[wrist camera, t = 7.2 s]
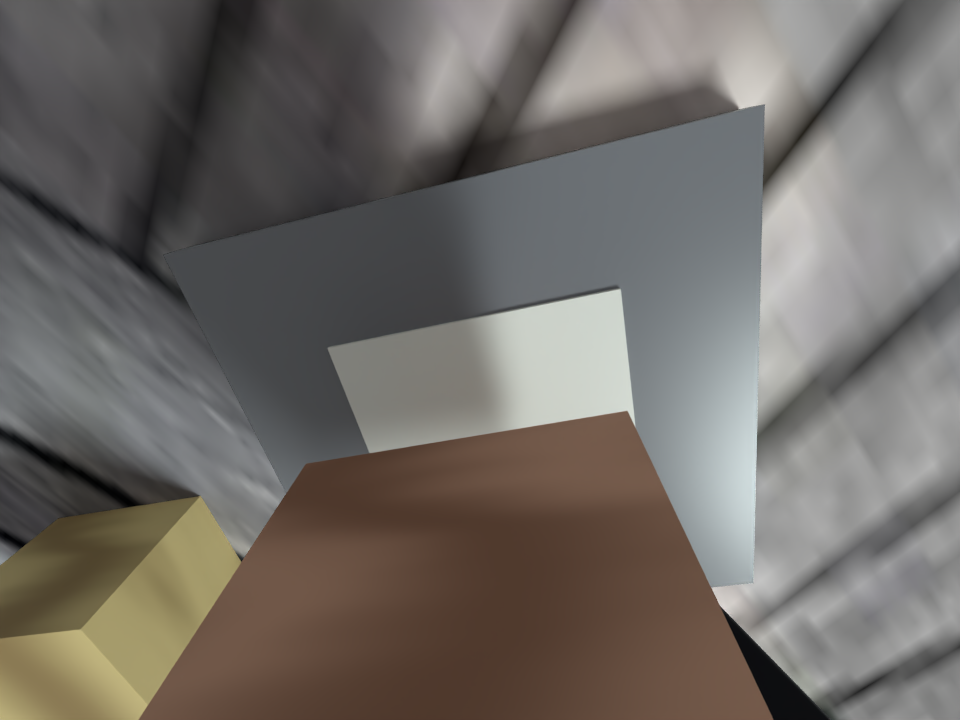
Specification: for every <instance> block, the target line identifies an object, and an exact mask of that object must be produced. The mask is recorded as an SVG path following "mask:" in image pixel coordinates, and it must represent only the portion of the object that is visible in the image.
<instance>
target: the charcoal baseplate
mask: <svg viewBox="0 0 960 720" xmlns="http://www.w3.org/2000/svg"><path fill="white" fill-rule="evenodd" d="M764 110H765V104H764V105H758V106H753V107H748V108H743V109H739V110H735V111H731V112H727V113H723V114H719V115H715V116H711V117H707V118H703V119H699V120H695V121H691V122H687V123H683V124H679V125H675V126H671V127H667V128H663V129H659V130H655V131H651V132H647V133H643V134H639V135H635V136H631V137H627V138H623V139H619V140H615V141H611V142H607V143H603V144H599V145H595V146H591V147H587V148H583V149H579V150H575V151H571V152H567V153H563V154H559V155H555V156H551V157H547V158H543V159H539V160H535V161H531V162H527V163H523V164H519V165H515V166H511V167H507V168H503V169H499V170H495V171H491V172H487V173H483V174H479V175H475V176H471V177H467V178H463V179H459V180H455V181H451V182H447V183H443V184H439V185H435V186H431V187H427V188H423V189H419V190H415V191H411V192H407V193H403V194H399V195H395V196H391V197H387V198H383V199H379V200H375V201H371V202H367V203H363V204H359V205H355V206H351V207H347V208H343V209H339V210H335V211H331V212H327V213H323V214H319V215H315V216H311V217H307V218H303V219H299V220H295V221H291V222H287V223H283V224H279V225H275V226H271V227H267V228H263V229H259V230H255V231H251V232H247V233H243V234H239V235H235V236H231V237H227V238H223V239H219V240H215V241H211V242H207V243H203V244H199V245H195V246H191V247H188V248H184V249H181V250H177V251H174V252H171V253H167V254H164V255H163V256H164V258H165V260H166V262H167V264H168V266H169V268H170V269H171V271H172V273H173V275H174V277H175V279H176V281H177V283H178V285H179V287H180V289H181V291H182V293H183V295H184V297H185V298H186V300H187V302H188V304H189V306H190V308H191V310H192V312H193V314H194V316H195V318H196V320H197V322H198V324H199V326H200V328H201V329H202V331H203V333H204V335H205V337H206V339H207V341H208V343H209V345H210V347H211V349H212V351H213V353H214V355H215V357H216V358H217V360H218V362H219V364H220V366H221V368H222V370H223V372H224V374H225V376H226V378H227V380H228V382H229V384H230V386H231V387H232V389H233V391H234V393H235V395H236V397H237V399H238V401H239V403H240V405H241V407H242V409H243V411H244V413H245V415H246V416H247V418H248V420H249V422H250V424H251V426H252V428H253V430H254V432H255V434H256V436H257V438H258V440H259V442H260V444H261V445H262V447H263V449H264V451H265V453H266V455H267V457H268V459H269V461H270V463H271V465H272V467H273V469H274V471H275V473H276V474H277V476H278V478H279V480H280V482H281V484H282V486H283V488H284V490H285V492H286V493H287V492H288V490H289V489H290V487H291V486H292V484H293V483H294V481H295V480H296V478H297V476H298V475H299V473H300V472H301V470H302V469H303V467H304V466H305V464H307V463H313V462H319V461H325V460H332V459H338V458H344V457H350V456H356V455H362V454H368V453H374V452H380V451H386V450H392V449H398V448H404V447H410V446H416V445H422V444H429V443H435V442H441V441H447V440H453V439H459V438H465V437H471V436H477V435H483V434H489V433H495V432H501V431H507V430H513V429H520V428H526V427H532V426H538V425H544V424H550V423H556V422H562V421H568V420H574V419H580V418H586V417H592V416H598V415H604V414H611V413H617V412H623V411H628V413H629V415H630V417H631V419H632V421H633V423H634V425H635V428H636V430H637V432H638V434H639V436H640V438H641V440H642V442H643V445H644V447H645V449H646V451H647V453H648V455H649V457H650V459H651V461H652V464H653V466H654V468H655V470H656V472H657V474H658V476H659V478H660V480H661V483H662V485H663V487H664V489H665V491H666V493H667V495H668V497H669V500H670V502H671V504H672V506H673V508H674V510H675V512H676V514H677V516H678V519H679V521H680V523H681V525H682V527H683V529H684V531H685V533H686V536H687V538H688V540H689V542H690V544H691V546H692V548H693V550H694V552H695V555H696V557H697V559H698V561H699V563H700V565H701V567H702V569H703V572H704V574H705V576H706V578H707V580H708V582H709V584H710V586H711V587H719V586H729V585H739V584H748V583H753V578H754V535H755V493H756V450H757V408H758V365H759V323H760V280H761V238H762V195H763V153H764Z"/></svg>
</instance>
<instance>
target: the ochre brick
mask: <svg viewBox="0 0 960 720" xmlns="http://www.w3.org/2000/svg"><path fill="white" fill-rule="evenodd" d="M240 564H241V561H240V559H239V558H238V556H237V555H236V553H235V551H234V550H233V548H232V546H231V545H230V543H229V542H228V540H227V538H226V537H225V535H224V533H223V532H222V530H221V529H220V527H219V525H218V524H217V522H216V520H215V519H214V517H213V516H212V514H211V512H210V511H209V509H208V507H207V506H206V504H205V503H204V501H203V499H202V498H201V496H198V497H192V498H185V499H179V500H172V501H166V502H160V503H153V504H147V505H141V506H134V507H128V508H121V509H115V510H109V511H102V512H96V513H90V514H83V515H77V516H70V517H64V518H58V519H57V520H56V521H55V522H53V523H52V524H51V525H50V526H48V527H47V528H46V529H45V530H43V531H42V532H41V533H40V534H38V535H37V536H36V537H35V538H34V539H32V540H31V541H30V542H29V543H27V544H26V545H25V546H24V547H22V548H21V549H20V550H19V551H18V552H16V553H15V554H14V555H13V556H11V557H10V558H9V559H8V560H6V561H5V562H4V563H3V564H1V565H0V720H139V718H140V717H141V715H142V714H143V712H144V710H145V709H146V707H147V706H148V704H149V703H150V701H151V700H152V698H153V697H154V695H155V694H156V692H157V691H158V689H159V688H160V686H161V684H162V683H163V681H164V680H165V678H166V677H167V675H168V674H169V672H170V671H171V669H172V668H173V666H174V665H175V663H176V662H177V660H178V658H179V657H180V655H181V654H182V652H183V651H184V649H185V648H186V646H187V645H188V643H189V642H190V640H191V639H192V637H193V636H194V634H195V632H196V631H197V629H198V628H199V626H200V625H201V623H202V622H203V620H204V619H205V617H206V616H207V614H208V613H209V611H210V610H211V608H212V606H213V605H214V603H215V602H216V600H217V599H218V597H219V596H220V594H221V593H222V591H223V590H224V588H225V587H226V585H227V584H228V582H229V580H230V579H231V577H232V576H233V574H234V573H235V571H236V570H237V568H238V567H239V565H240Z"/></svg>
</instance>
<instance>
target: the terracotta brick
mask: <svg viewBox="0 0 960 720" xmlns="http://www.w3.org/2000/svg"><path fill="white" fill-rule="evenodd" d="M139 720H773V718H772V715H771V713H770V711H769V709H768V707H767V705H766V703H765V701H764V699H763V696H762V694H761V692H760V690H759V688H758V686H757V684H756V682H755V679H754V677H753V675H752V673H751V671H750V669H749V667H748V665H747V663H746V660H745V658H744V656H743V654H742V652H741V650H740V648H739V646H738V643H737V641H736V639H735V637H734V635H733V633H732V631H731V629H730V627H729V624H728V622H727V620H726V618H725V616H724V614H723V612H722V610H721V607H720V605H719V603H718V601H717V599H716V597H715V595H714V593H713V591H712V588H711V586H710V584H709V582H708V580H707V578H706V576H705V574H704V572H703V569H702V567H701V565H700V563H699V561H698V559H697V557H696V555H695V552H694V550H693V548H692V546H691V544H690V542H689V540H688V538H687V536H686V533H685V531H684V529H683V527H682V525H681V523H680V521H679V519H678V516H677V514H676V512H675V510H674V508H673V506H672V504H671V502H670V500H669V497H668V495H667V493H666V491H665V489H664V487H663V485H662V483H661V480H660V478H659V476H658V474H657V472H656V470H655V468H654V466H653V464H652V461H651V459H650V457H649V455H648V453H647V451H646V449H645V447H644V445H643V442H642V440H641V438H640V436H639V434H638V432H637V430H636V428H635V425H634V423H633V421H632V419H631V417H630V415H629V413H628V411H623V412H617V413H611V414H604V415H598V416H592V417H586V418H580V419H574V420H568V421H562V422H556V423H550V424H544V425H538V426H532V427H526V428H520V429H513V430H507V431H501V432H495V433H489V434H483V435H477V436H471V437H465V438H459V439H453V440H447V441H441V442H435V443H429V444H422V445H416V446H410V447H404V448H398V449H392V450H386V451H380V452H374V453H368V454H362V455H356V456H350V457H344V458H338V459H332V460H325V461H319V462H313V463H307V464H305V466H304V467H303V469H302V470H301V472H300V473H299V475H298V476H297V478H296V480H295V481H294V483H293V484H292V486H291V487H290V489H289V490H288V492H287V493H286V495H285V496H284V498H283V499H282V501H281V502H280V504H279V506H278V507H277V509H276V510H275V512H274V513H273V515H272V516H271V518H270V519H269V521H268V522H267V524H266V525H265V527H264V528H263V530H262V532H261V533H260V535H259V536H258V538H257V539H256V541H255V542H254V544H253V545H252V547H251V548H250V550H249V551H248V553H247V554H246V556H245V558H244V559H243V561H242V562H241V564H240V565H239V567H238V568H237V570H236V571H235V573H234V574H233V576H232V577H231V579H230V580H229V582H228V584H227V585H226V587H225V588H224V590H223V591H222V593H221V594H220V596H219V597H218V599H217V600H216V602H215V603H214V605H213V606H212V608H211V610H210V611H209V613H208V614H207V616H206V617H205V619H204V620H203V622H202V623H201V625H200V626H199V628H198V629H197V631H196V632H195V634H194V636H193V637H192V639H191V640H190V642H189V643H188V645H187V646H186V648H185V649H184V651H183V652H182V654H181V655H180V657H179V658H178V660H177V662H176V663H175V665H174V666H173V668H172V669H171V671H170V672H169V674H168V675H167V677H166V678H165V680H164V681H163V683H162V684H161V686H160V688H159V689H158V691H157V692H156V694H155V695H154V697H153V698H152V700H151V701H150V703H149V704H148V706H147V707H146V709H145V710H144V712H143V714H142V715H141V717H140V718H139Z"/></svg>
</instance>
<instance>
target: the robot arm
mask: <svg viewBox="0 0 960 720" xmlns="http://www.w3.org/2000/svg"><path fill="white" fill-rule="evenodd" d="M720 607H721V606H720ZM721 610H722V612H723V614H724V616H725V618H726V620H727V622H728V624H729V627H730V629H731V631H732V633H733V635H734V637H735V639H736V641H737V643H738V646H739V648H740V650H741V652H742V654H743V656H744V658H745V660H746V663H747V665H748V667H749V669H750V671H751V673H752V675H753V677H754V679H755V682H756V684H757V686H758V688H759V690H760V692H761V694H762V696H763V699H764V701H765V703H766V705H767V707H768V709H769V711H770V713H771V715H772V718H773V720H831V719H830V718H829V717H828V716H827V715H826V714H825V713H824V712H823V711H822V710H821V709H820V708H819V707H818V706H817V705H816V704H815V703H814V702H813V701H812V700H811V699H810V698H809V697H808V696H807V695H806V694H805V693H804V692H803V691H802V690H801V689H800V688H799V686H798V685H797V684H796V683H795V682H794V681H793V680H792V679H791V678H790V677H789V676H788V675H787V674H786V673H785V672H784V671H783V670H782V669H781V668H780V667H779V666H778V665H777V664H776V663H775V662H774V661H773V660H772V659H771V658H770V657H769V656H768V655H767V654H766V653H765V652H764V651H763V650H762V649H761V648H760V646H759V645H758V644H757V643H756V642H755V641H754V640H753V639H752V638H751V637H750V636H749V635H748V634H747V633H746V632H745V631H744V630H743V629H742V628H741V627H740V626H739V625H738V624H737V623H736V622H735V621H734V620H733V619H732V618H731V617H730V616H729V615H728V614H727V613H726V612H725V611H724V610H723V609H722V608H721Z"/></svg>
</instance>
